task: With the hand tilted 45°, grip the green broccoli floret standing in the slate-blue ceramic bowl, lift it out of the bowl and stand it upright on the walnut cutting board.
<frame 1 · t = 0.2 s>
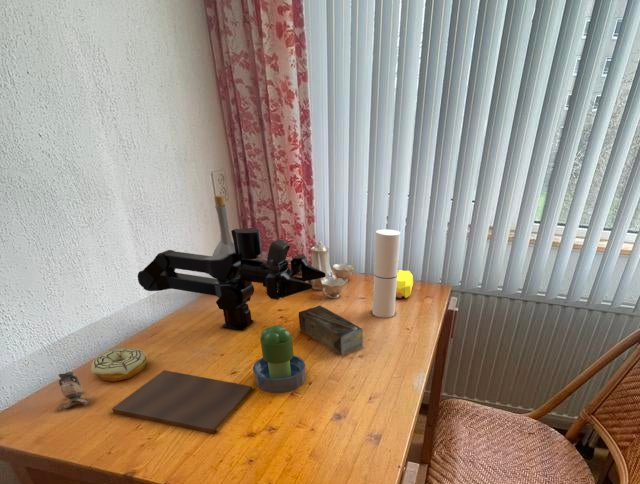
hand: (319, 280, 98), 17 cm above the table, tool horizontal, fingers open, 9 cm apart
orange-capped yellow polyhedron: (401, 292, 141), on the table
bottle: (235, 293, 131), on the table
chinaware: (329, 287, 141), on the table
beverage carton: (330, 340, 107), on the table
cylindrical container: (383, 313, 124), on the table
broccoli: (280, 378, 88), point 1 cm above the table, touching bowl
bowl: (281, 380, 89), on the table
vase: (77, 400, 79), on the table
decorated donut: (122, 371, 89), on the table
board: (187, 401, 80), on the table
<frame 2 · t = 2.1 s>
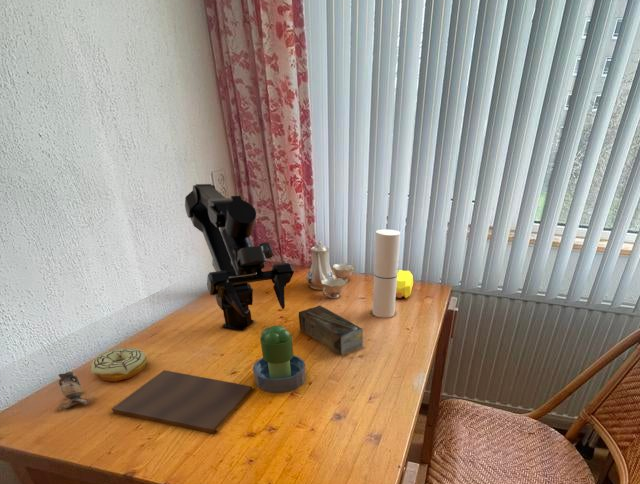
hand: (264, 312, 87), 14 cm above the table, tool tilted 45°, fingers open, 9 cm apart
nothing on the table moved.
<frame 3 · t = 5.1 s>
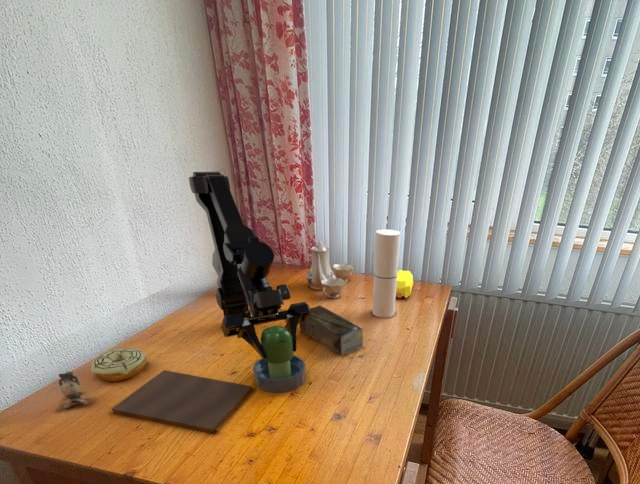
hand: (280, 354, 84), 8 cm above the table, tool tilted 45°, fingers closed on broccoli, 6 cm apart
broccoli: (280, 378, 88), point 1 cm above the table, touching bowl, gripper
everything else where it was.
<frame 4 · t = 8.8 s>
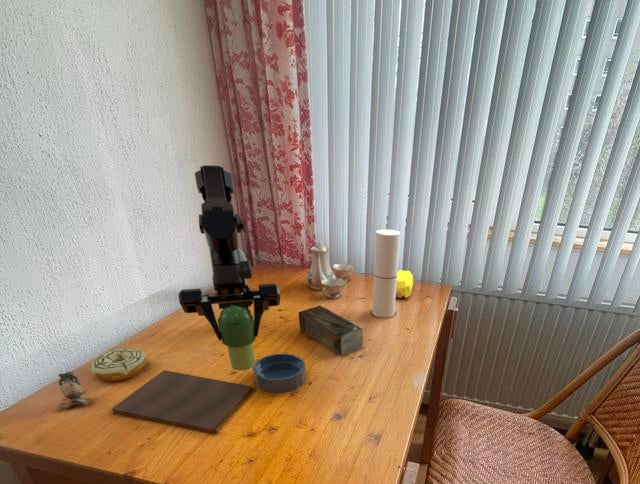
hand: (238, 338, 77), 13 cm above the table, tool tilted 45°, fingers closed on broccoli, 6 cm apart
broccoli: (243, 364, 82), point 6 cm above the table, touching gripper
everything else where it was.
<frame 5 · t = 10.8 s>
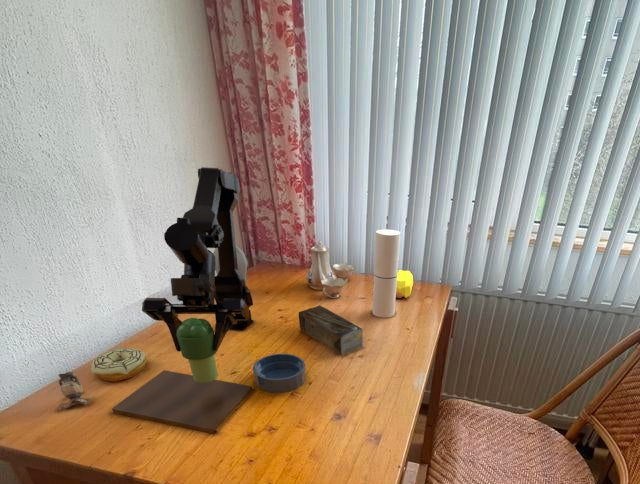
hand: (196, 350, 75), 12 cm above the table, tool tilted 45°, fingers closed on broccoli, 6 cm apart
broccoli: (206, 376, 80), point 5 cm above the table, touching gripper
everything else where it was.
when the fingers open (8 cm above the table, at t = 12.6 s): broccoli stays where it is, resting on board.
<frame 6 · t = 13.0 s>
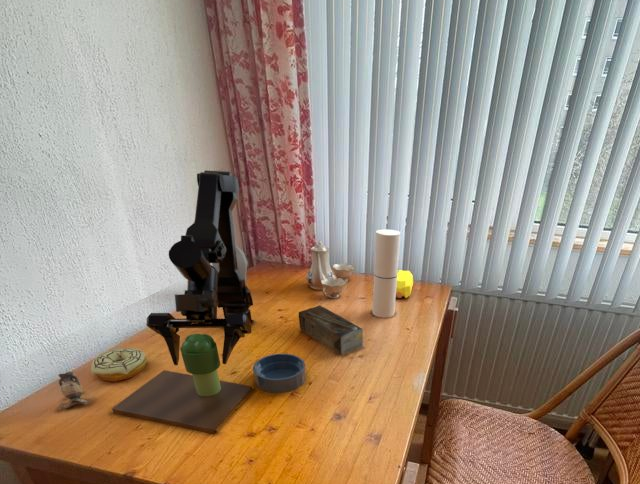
hand: (200, 364, 77), 9 cm above the table, tool tilted 45°, fingers open, 9 cm apart
broccoli: (209, 389, 82), point 1 cm above the table, touching board
everything else where it was.
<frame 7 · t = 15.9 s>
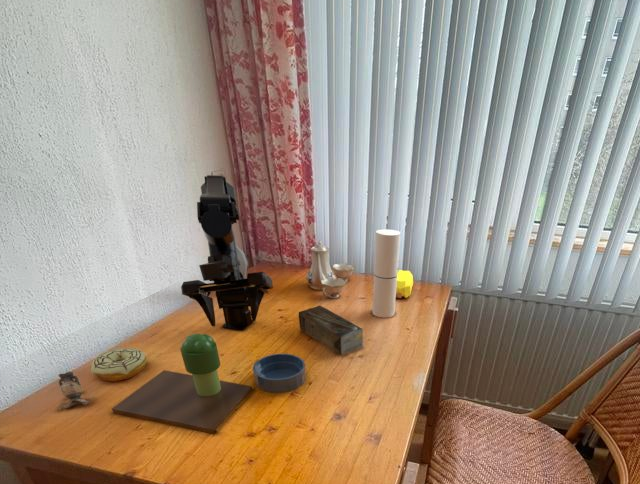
hand: (233, 323, 87), 11 cm above the table, tool tilted 35°, fingers open, 9 cm apart
nothing on the table moved.
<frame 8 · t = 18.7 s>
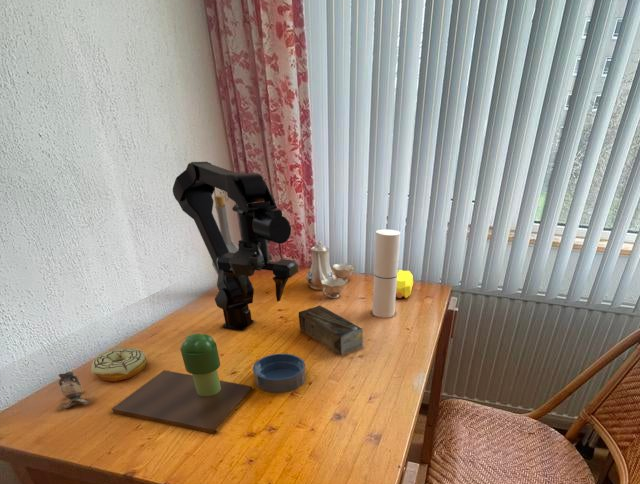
hand: (261, 298, 98), 12 cm above the table, tool pointing down, fingers open, 9 cm apart
nothing on the table moved.
at the end: broccoli inside the target area on the board (1.8 cm from its centre), point 1.2 cm above the board's base; broccoli tilted 0°; the gripper is holding nothing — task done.
